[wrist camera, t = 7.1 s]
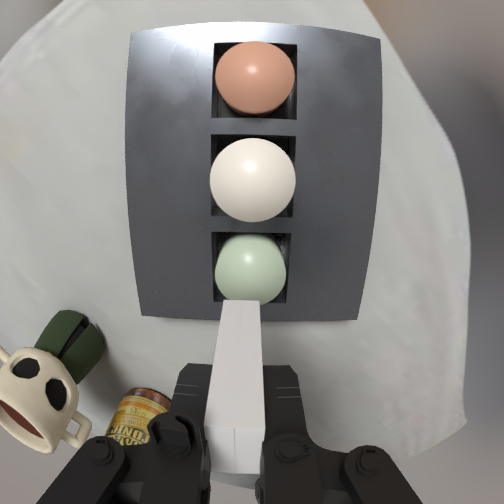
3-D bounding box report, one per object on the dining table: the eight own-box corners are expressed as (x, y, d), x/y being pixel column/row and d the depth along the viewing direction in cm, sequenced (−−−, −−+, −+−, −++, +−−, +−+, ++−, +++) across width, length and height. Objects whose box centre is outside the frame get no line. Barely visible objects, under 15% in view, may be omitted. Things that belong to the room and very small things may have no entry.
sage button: (279, 283, 22) (283, 306, 19) (221, 282, 22) (215, 305, 19) (282, 227, 21) (288, 242, 18) (220, 225, 21) (214, 241, 18)
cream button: (286, 209, 19) (293, 223, 16) (217, 207, 19) (210, 221, 16) (288, 141, 17) (297, 139, 14) (217, 139, 17) (210, 137, 14)
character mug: (137, 348, 25) (87, 459, 13) (108, 380, 27) (65, 473, 15) (50, 276, 23) (-37, 355, 11) (33, 318, 25) (-34, 392, 13)
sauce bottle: (177, 391, 27) (137, 569, 9) (176, 424, 30) (147, 573, 11) (118, 377, 27) (52, 536, 8) (124, 410, 29) (76, 549, 10)
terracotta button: (286, 118, 18) (294, 113, 15) (220, 117, 18) (214, 111, 15) (287, 59, 17) (294, 43, 13) (222, 57, 17) (216, 41, 13)
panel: (346, 300, 24) (356, 319, 21) (153, 296, 23) (141, 315, 21) (364, 50, 17) (380, 39, 14) (145, 45, 16) (131, 33, 14)
